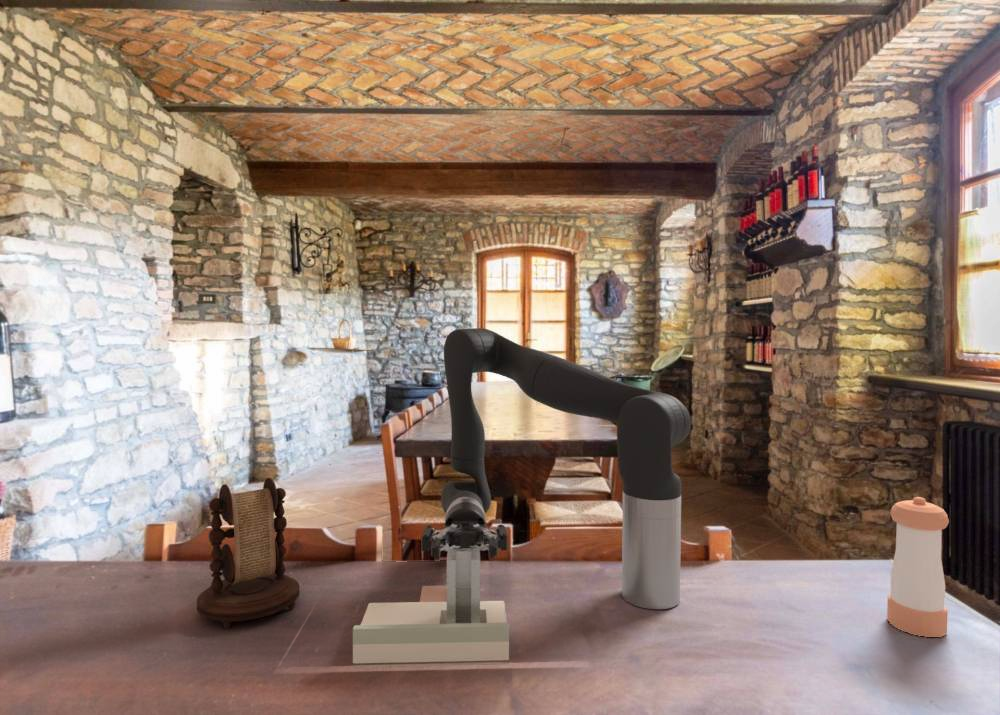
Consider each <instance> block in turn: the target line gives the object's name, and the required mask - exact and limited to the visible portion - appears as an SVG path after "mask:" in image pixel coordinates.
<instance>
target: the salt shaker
mask: <svg viewBox="0 0 1000 715" xmlns="http://www.w3.org/2000/svg"><path fill="white" fill-rule="evenodd" d="M890 516H891V518H892V520H893V521H894V522H895V523H896V532H895V533H896V536H895V537H896V538H895V552H894V557H893V560H892V561H893V562H892V566H891V570H890V594H889V595H888V596H887V605H886V606H887V609H886V612H887V613H886V621H887V620H888V621H889V622H890V623H891V624H892V625H893V626H894V627H896V628H899V629H900V630H903V631H905V632H908V633H911V634H915V635H919V636H918V637H920V636H926V637H941V636H944V635H946V633H947V634H948V609H947V607H946V606H945V602H946V601H945V600H946V599H945V598H946V580H945V575H944V569H943V568H944V566H943V562H942V538H943V537H942V535H943V534H942V530H945V529H946V528H948V525H949V523H950V519H949V517H948V514H947V512H946V511H945V510H944V508H942V507H940V506H938V505H936V504H934V503H931V502H927V500H926V499H925V498H924V497H922V496H915V497H913V498H912V499H911V500H910V499H909V500H908V499H907V500H902V501H898V502H895V503H894V504H893V505H892V507H891V509H890ZM888 621H887V622H888ZM892 625H891V626H892ZM893 626H892V627H893ZM894 627H893V628H894ZM896 628H895V629H896ZM900 630H899V631H900ZM903 631H902V632H903ZM905 632H904V633H905ZM908 633H907V634H908ZM911 634H910V635H911ZM915 635H914V636H915ZM946 636H947V635H946ZM926 637H925V638H926ZM944 637H945V636H944ZM941 638H942V637H941Z"/></svg>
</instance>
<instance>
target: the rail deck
mask: <svg viewBox="0 0 1000 715" xmlns="http://www.w3.org/2000/svg"><path fill="white" fill-rule="evenodd" d="M506 615H507V613H506V606H505V601H504V600H480V623H458V624H447V602H420V601H415V602H414V601H411V602H410V601H408V602H406V601H402V602H369V603H368V604H367V607H366V610H365V612H364V615H363V618H362V621H361V623H360V624H357V625H356V624H355V625H354V626H353V627H352V664H353V665H352V668H353V669H354V668H360V669H361V668H398V667H399V668H401V667H404V668H405V667H442V666H443V667H444V666H448V667H449V666H453V667H454V666H485V665H486V666H488V665H489V666H491V665H494V666H495V665H497V666H498V665H510V662H509V660H510V622H507V616H506ZM478 661H479V662H478ZM480 661H482V662H480ZM485 661H486V662H485ZM487 661H488V662H487ZM489 661H490V662H489ZM492 661H493V662H492ZM498 661H499V662H498ZM432 662H433V663H432ZM434 662H435V663H434ZM437 662H439V663H437ZM441 662H442V663H441ZM443 662H444V663H443ZM446 662H447V663H446ZM388 663H389V664H388ZM390 663H391V664H390ZM394 663H397V664H394ZM399 663H400V664H399Z"/></svg>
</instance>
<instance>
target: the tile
mask: <svg viewBox="0 0 1000 715" xmlns="http://www.w3.org/2000/svg"><path fill="white" fill-rule="evenodd" d="M420 593H421V594H420V597H419V602H447V585H422V588H421V592H420Z"/></svg>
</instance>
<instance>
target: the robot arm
mask: <svg viewBox="0 0 1000 715" xmlns="http://www.w3.org/2000/svg"><path fill="white" fill-rule="evenodd" d="M443 361H444V372H445V379H446V380H445V381H446V388H447V395H448V396H447V397H448V402H449V409H450V422H451V426H450V427H451V436H450V437H451V438H450V440H451V441H450V443H451V445H450V467H451V468H452V469H451V470H454V471H455V472H457V473H461V474H464V475H468V476H470V477H471V478H472V479H473V480H471V481H470V480H451V481H448V482H447V483H445V485H444V486H443V488H442V489H441V492H440V502H441V506H442V510H443V512H444V513H445V519H444V525H443V527H441V528H440V529H435V527H433V525H429V524H428V525H425V528H424V529H423V532H422V535H421V551H422V552H428V551H429V550H430V557H432V558H434V560H436V561H437V560H439V561H440V558H441V553H442V551H443V552H448V549H457V548H480V551H488V559H489V560H494V558H495V557H497V556H498V555H499V552H498V551H499V549H500V550H501V551H507V550H509V547H508V537H509V535H508V532H507V529H506V527H505V525H504V524H498V525H496V526H497V527H495V529H493V528H492V529H491V528H489V526H487V522H486V521H487V520H486V513H487V512H488V511H489V510H490V508H491V504H492V496H491V491H490V490H491V489H490V488H489V484H488V481H487V480H488V479H487V475H486V471H485V470H486V469H485V468H486V467H485V443H486V442H485V441H486V438H485V437H486V436H485V428H484V427H485V426H484V424H483V421H482V418H481V415H480V413H479V412H478V410H477V407H476V405H475V401H474V398H473V392H472V378H473V374H476V373H493V374H496V375H500V376H502V377H506V378H508V379H510V380H512V381H514V382H515V383H516V385H517V386H518V387H519V388H520V389H521V391H522V392H523V393H524V394H525V395H526V396H528V397H529V398H530V399H532V400H533V401H535V402H537V403H540V404H542V405H545V406H546V407H549V408H551V409H555V410H557V411H560V412H564V413H568V414H572V415H576V416H581V417H587V418H588V417H589V418H592V419H593V418H594V419H600V420H605V421H608V422H611V423H614V424H616V425H617V426H616V446H617V447H616V448H617V468H618V469H617V470H618V473H619V476H620V478H621V481H622V529H621V530H622V534H621V535H622V536H621V537H622V539H621V540H622V542H621V543H622V544H621V545H622V546H621V551H622V552H621V596H622V598H623V599H624V601H626V602H628V603H629V604H631V605H633V606H636V607H638V608H643V609H649V610H666V609H671V608H674V607H676V606H678V605H679V603H680V600H681V553H682V552H681V551H682V550H681V545H682V543H681V541H682V480H681V478H680V476H679V475H678V474H676V473H674V471H673V466H672V448H673V447H675V446H677V445H679V444H680V443H681V442H683V441H684V440H686V438H687V437H688V435H689V433H690V431H691V428H692V419H691V415H690V413H689V410H688V409H687V407H686V406H685V405H684V404H683V403H682V402H681V401H680V400H679V399H678V398H677V397H674V396H673V395H670V394H668V393H665V392H664V393H663V392H659V391H654V390H651V389H647V388H643V387H638V386H634V385H630V384H627V383H624V382H620V381H618V380H616V379H613V378H611V377H609V376H606V375H605V374H602V373H600V372H597V371H596V370H592V369H591V368H588V367H585V366H583V365H580V364H578V363H575V362H573V361H571V360H567V359H564V358H562V357H559V356H556V355H554V354H550V353H547V352H544V351H541V350H538V349H534V348H532V347H531V348H530V347H527V346H523V345H521V344H518V343H516V342H515V341H512V340H510V339H508V338H506V337H504V336H503V335H501V334H499V333H497V332H496V331H493V330H490V329H487V328H482V327H481V328H480V327H479V328H478V327H477V328H476V327H475V328H474V327H472V328H458V329H455V330H452V331H451V332H450V333H448V335H447V337H446V339H445V341H444V345H443Z"/></svg>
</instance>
